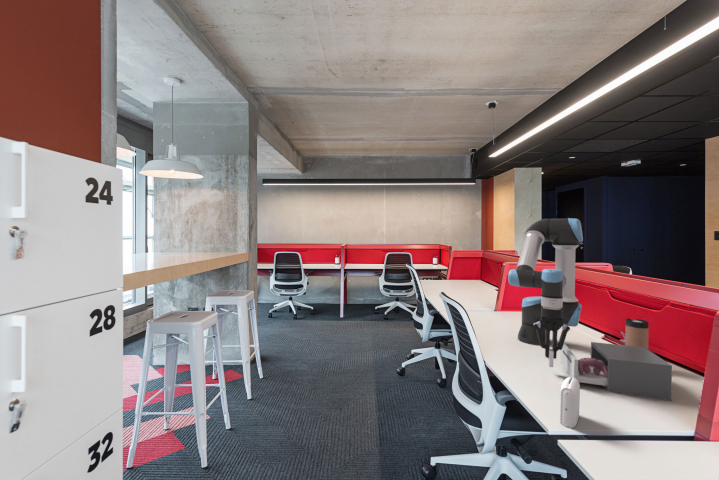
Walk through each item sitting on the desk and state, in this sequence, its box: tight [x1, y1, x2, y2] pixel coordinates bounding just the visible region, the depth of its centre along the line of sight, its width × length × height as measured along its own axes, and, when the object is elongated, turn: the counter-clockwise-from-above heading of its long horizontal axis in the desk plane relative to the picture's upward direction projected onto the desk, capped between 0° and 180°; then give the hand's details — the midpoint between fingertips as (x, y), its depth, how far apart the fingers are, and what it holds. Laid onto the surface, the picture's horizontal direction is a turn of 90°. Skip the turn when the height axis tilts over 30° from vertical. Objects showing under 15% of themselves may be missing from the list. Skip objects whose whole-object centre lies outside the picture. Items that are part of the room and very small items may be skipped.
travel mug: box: [624, 317, 650, 350], centre depth 143 cm, size 8×8×20 cm
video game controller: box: [578, 357, 608, 378], centre depth 130 cm, size 10×5×7 cm, turn 70°
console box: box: [590, 341, 673, 401], centre depth 126 cm, size 18×20×12 cm
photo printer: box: [559, 376, 581, 429], centre depth 101 cm, size 10×4×12 cm, turn 140°
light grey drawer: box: [560, 342, 608, 387], centre depth 130 cm, size 18×20×9 cm
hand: (550, 365), depth 135 cm, fingers closed
